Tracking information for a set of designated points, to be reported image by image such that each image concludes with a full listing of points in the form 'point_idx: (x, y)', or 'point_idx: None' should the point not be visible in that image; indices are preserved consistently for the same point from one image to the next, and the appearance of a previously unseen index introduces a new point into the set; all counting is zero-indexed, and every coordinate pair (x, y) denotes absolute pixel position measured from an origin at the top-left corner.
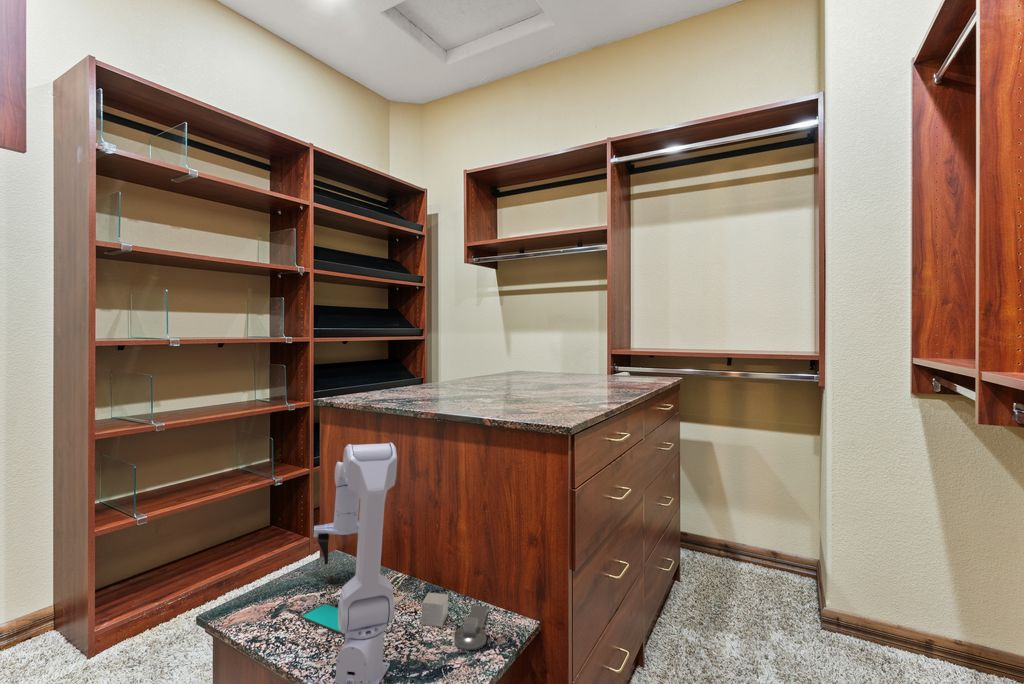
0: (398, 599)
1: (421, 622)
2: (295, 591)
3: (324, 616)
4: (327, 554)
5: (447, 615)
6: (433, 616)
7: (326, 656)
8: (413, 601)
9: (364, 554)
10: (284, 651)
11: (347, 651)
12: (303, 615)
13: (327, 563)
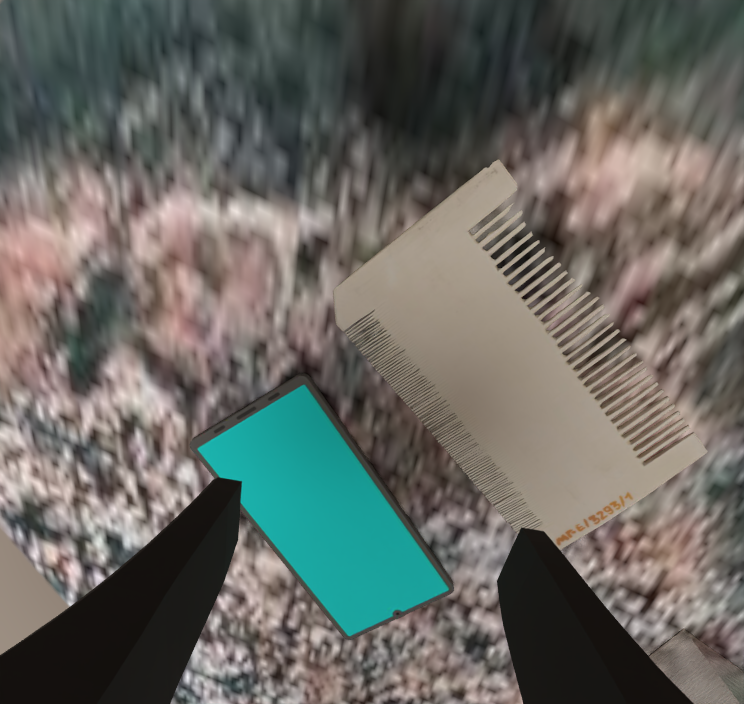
0: (637, 488)
1: None
2: (164, 138)
3: (289, 491)
4: (180, 669)
5: (742, 672)
6: None
7: (272, 700)
8: (690, 520)
9: None
10: None
11: None
12: (203, 445)
13: (232, 548)
